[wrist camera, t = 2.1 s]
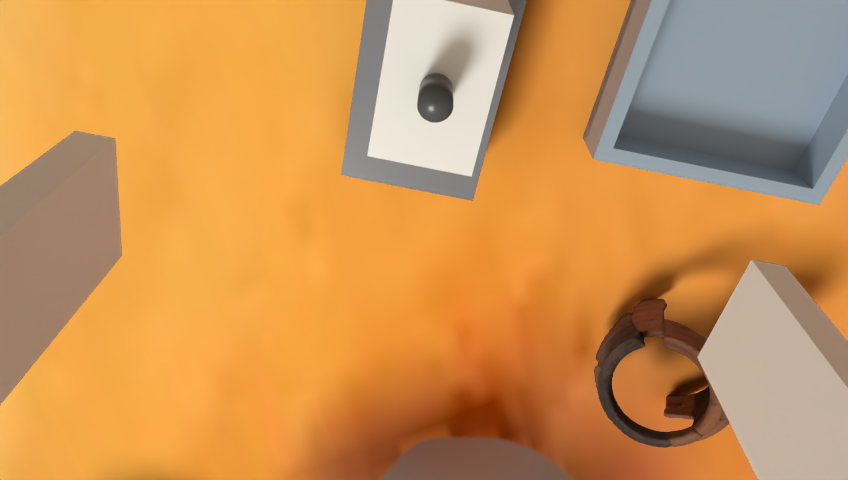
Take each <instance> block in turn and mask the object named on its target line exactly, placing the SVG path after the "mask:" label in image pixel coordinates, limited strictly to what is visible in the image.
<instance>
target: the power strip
mask: <svg viewBox="0 0 848 480" xmlns="http://www.w3.org/2000/svg"><path fill="white" fill-rule="evenodd" d="M508 1H509V4H510V6H511V9H512V11H513V14H514V18H513V22H512V25H511V29H510V33H509V37H508V41H507V44H506V48H505V52H504V56H503V60H502V63H501V67H500V71H499V75H498V79H497V82H496V86H495V90H494V94H493V97H492V101H491V105H490V109H489V113H488V116H487V120H486V124H485V128H484V132H483V135H482V139H481V143H480V147H479V151H478V154H477V158H476V162H475V166H474V169H473V173H472V177H471V176H466V175H461V174H455V173H450V172H445V171H440V170H435V169H430V168H425V167H420V166H415V165H410V164H405V163H400V162H395V161H390V160H384V159H379V158H374V157H369V156H367V154H368V148H369V142H370V136H371V130H372V124H373V118H374V112H375V106H376V100H377V94H378V88H379V82H380V76H381V70H382V64H383V58H384V52H385V46H386V40H387V34H388V28H389V22H390V16H391V10H392V4H393V0H367V1H366V8H365V15H364V22H363V29H362V36H361V43H360V49H359V56H358V63H357V70H356V77H355V84H354V91H353V97H352V104H351V111H350V118H349V125H348V132H347V139H346V145H345V152H344V159H343V166H342V173H341V175H343V176H348V177H353V178H358V179H363V180H368V181H374V182H379V183H384V184H389V185H394V186H399V187H404V188H410V189H415V190H420V191H425V192H430V193H435V194H440V195H446V196H451V197H456V198H461V199H466V200H471V201H473V198H474V194H475V190H476V187H477V183H478V179H479V176H480V172H481V168H482V165H483V161H484V157H485V153H486V150H487V146H488V142H489V139H490V135H491V131H492V128H493V124H494V120H495V117H496V113H497V109H498V105H499V102H500V98H501V94H502V91H503V87H504V83H505V80H506V76H507V72H508V68H509V65H510V61H511V57H512V54H513V50H514V46H515V43H516V39H517V35H518V32H519V28H520V24H521V20H522V17H523V13H524V9H525V6H526V2H527V0H508Z"/></svg>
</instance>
